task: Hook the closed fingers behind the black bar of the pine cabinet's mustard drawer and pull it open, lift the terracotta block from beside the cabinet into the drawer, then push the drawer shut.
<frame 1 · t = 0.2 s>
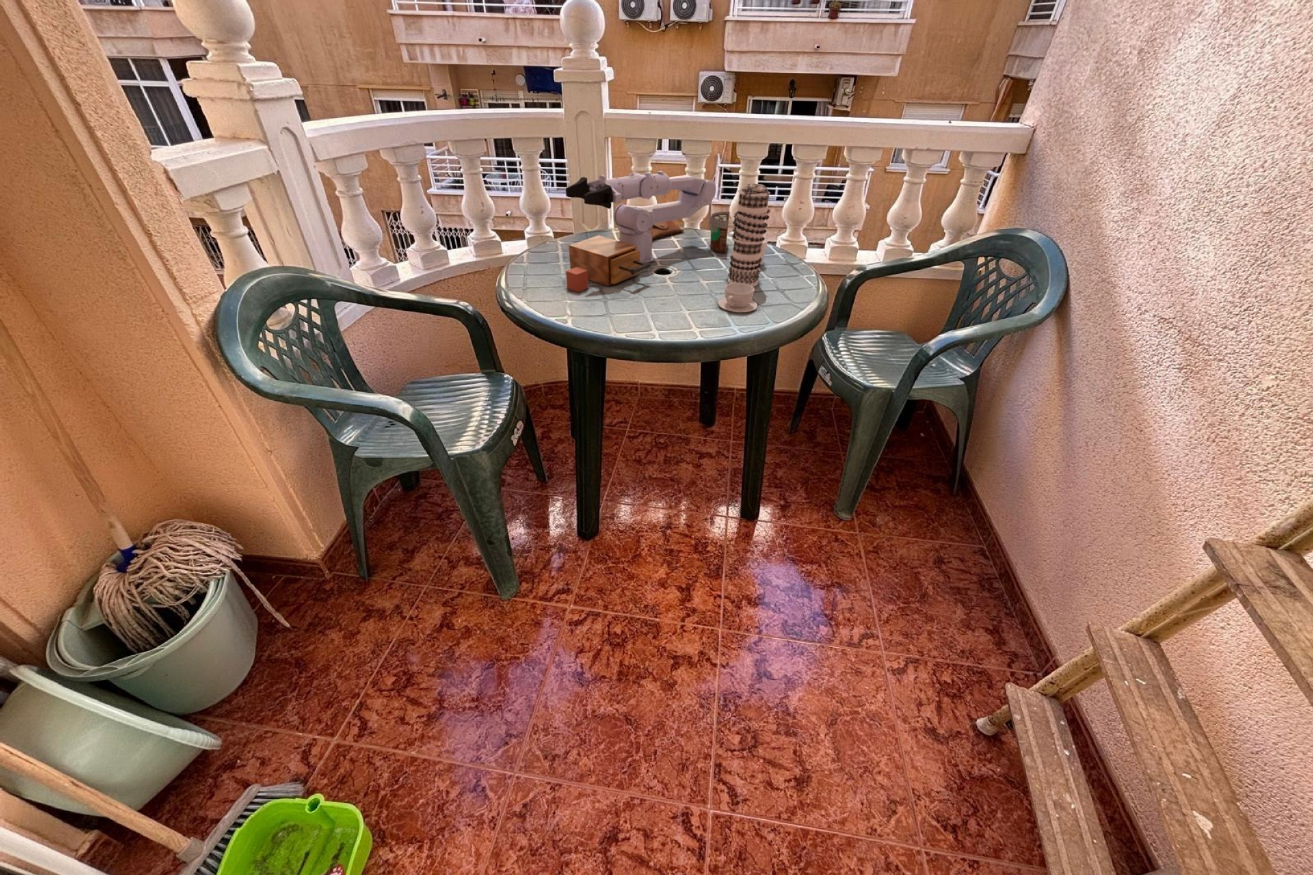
hand: (575, 196, 136), 21 cm above the table, tool horizontal, fingers open, 7 cm apart
decorative candle: (743, 282, 149), on the table
cabinet: (603, 274, 151), on the table
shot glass: (752, 264, 162), on the table
drawer: (616, 264, 147), point 4 cm above the table, slide at 0.5 cm
teacup: (737, 306, 136), on the table
block: (577, 288, 142), on the table
sunglasses case: (659, 235, 183), on the table
food container: (716, 248, 173), on the table
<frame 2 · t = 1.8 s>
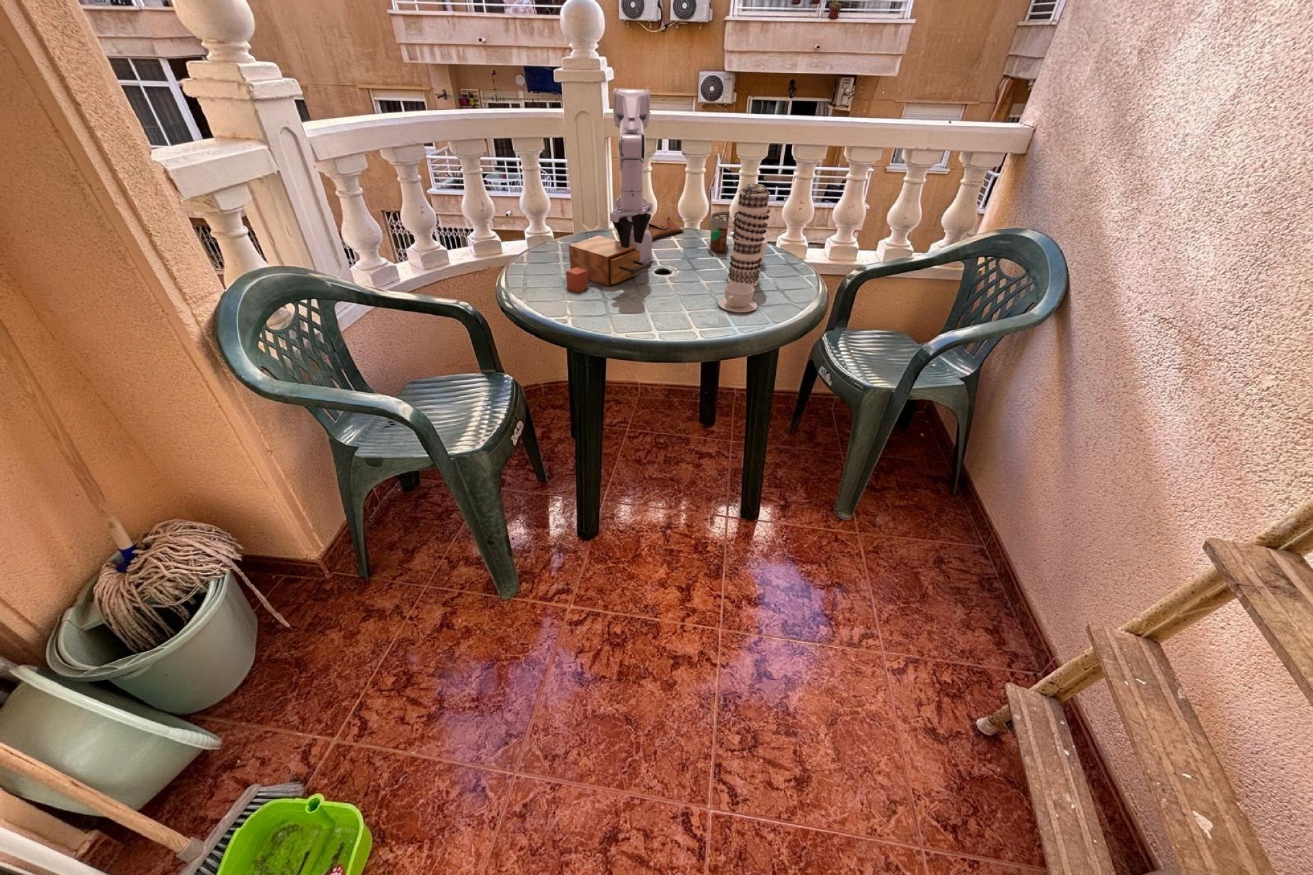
hand: (631, 245, 140), 10 cm above the table, tool pointing down, fingers open, 5 cm apart
nothing on the table moved.
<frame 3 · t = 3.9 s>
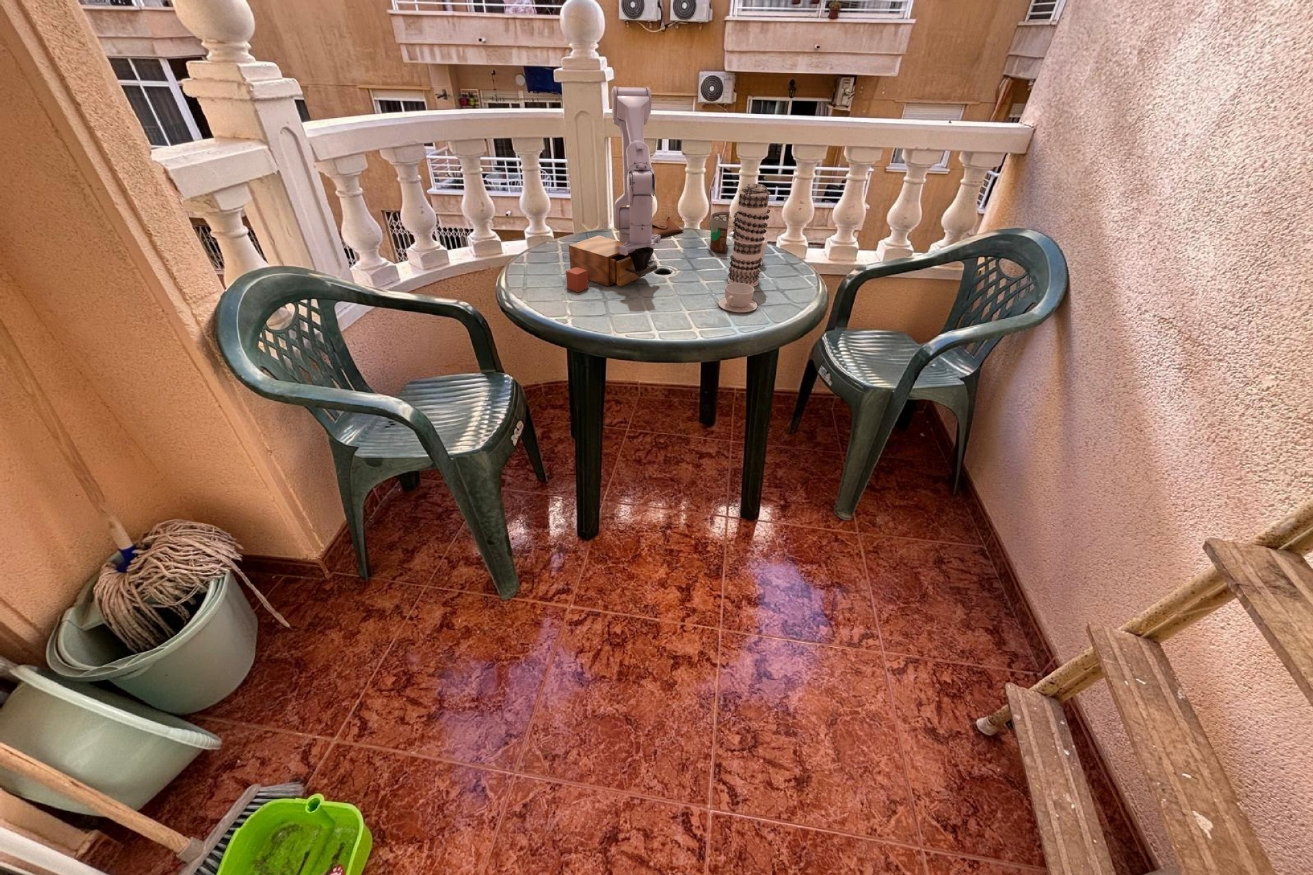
hand: (640, 275, 143), 3 cm above the table, tool pointing down, fingers closed, pressing on drawer
drawer: (622, 266, 146), point 4 cm above the table, slide at 2.7 cm, touching gripper
everything else where it was.
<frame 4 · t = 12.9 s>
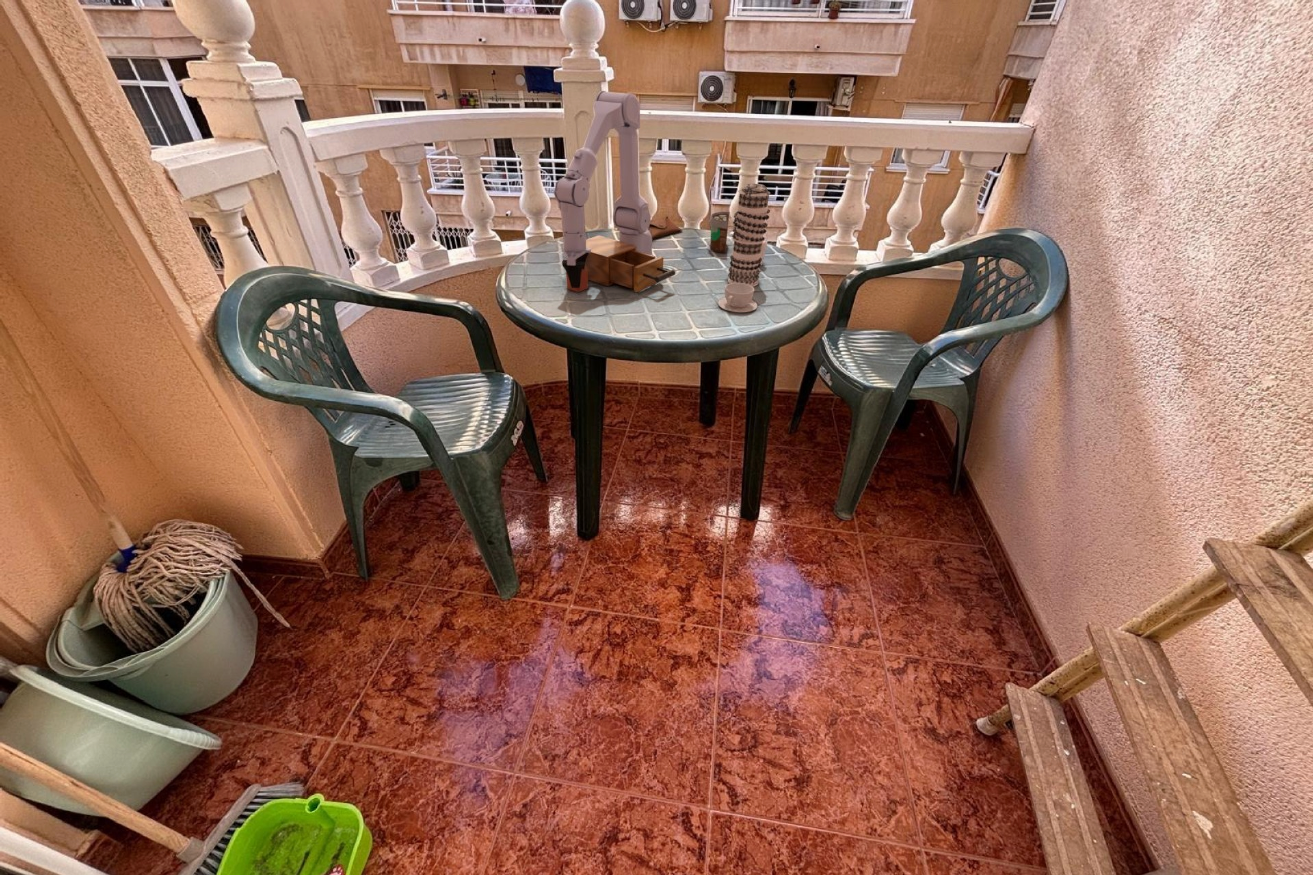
hand: (577, 283, 142), 1 cm above the table, tool pointing down, fingers closed on block, 5 cm apart
drawer: (639, 271, 143), point 4 cm above the table, slide at 8.7 cm
block: (577, 288, 142), on the table, touching gripper
everything else where it was.
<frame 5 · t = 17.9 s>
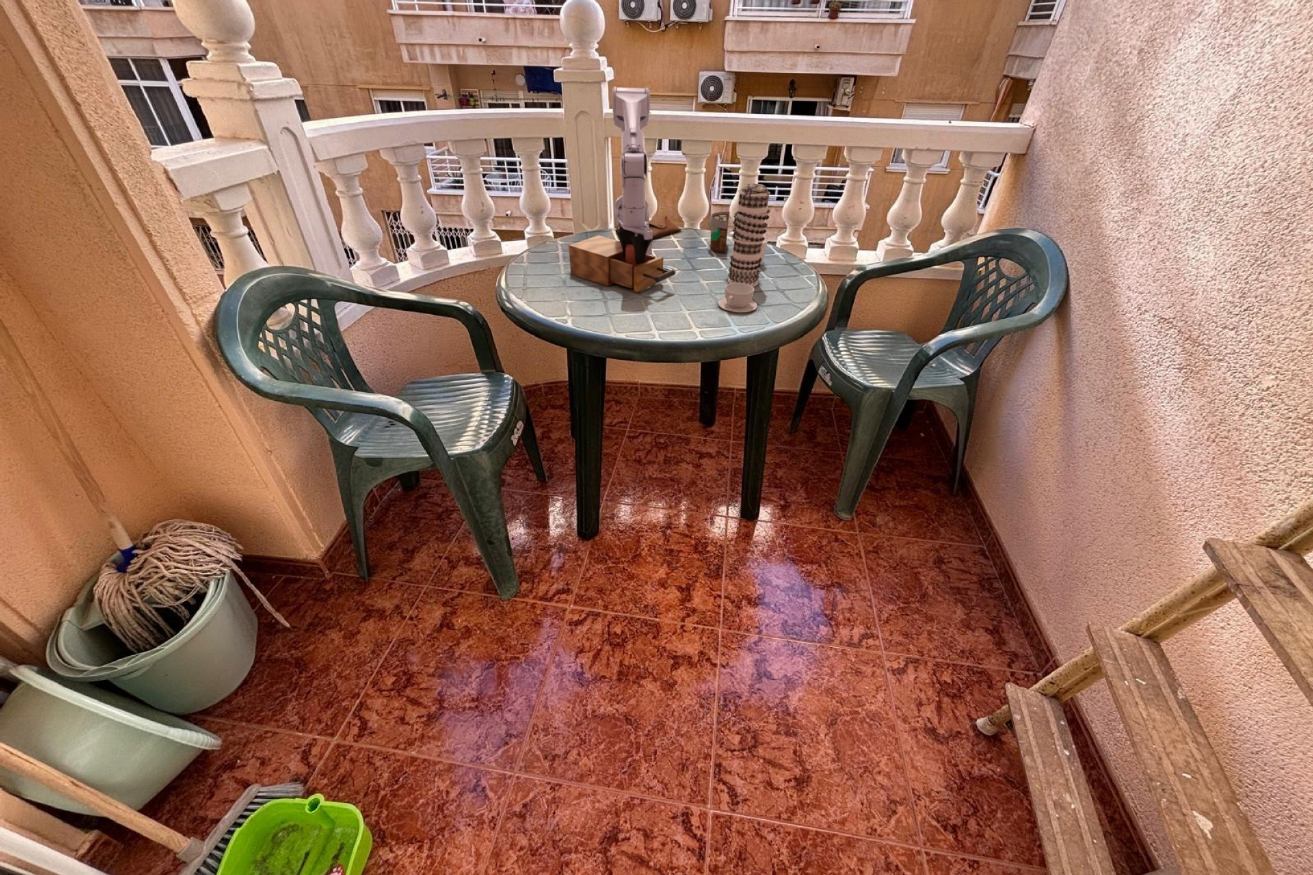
hand: (633, 259, 142), 7 cm above the table, tool pointing down, fingers closed on block, 5 cm apart
block: (633, 265, 143), point 5 cm above the table, touching gripper
everything else where it was.
when the fingers open (7 cm above the table, at t = 21.5 s): block drops 4 cm, resting on drawer.
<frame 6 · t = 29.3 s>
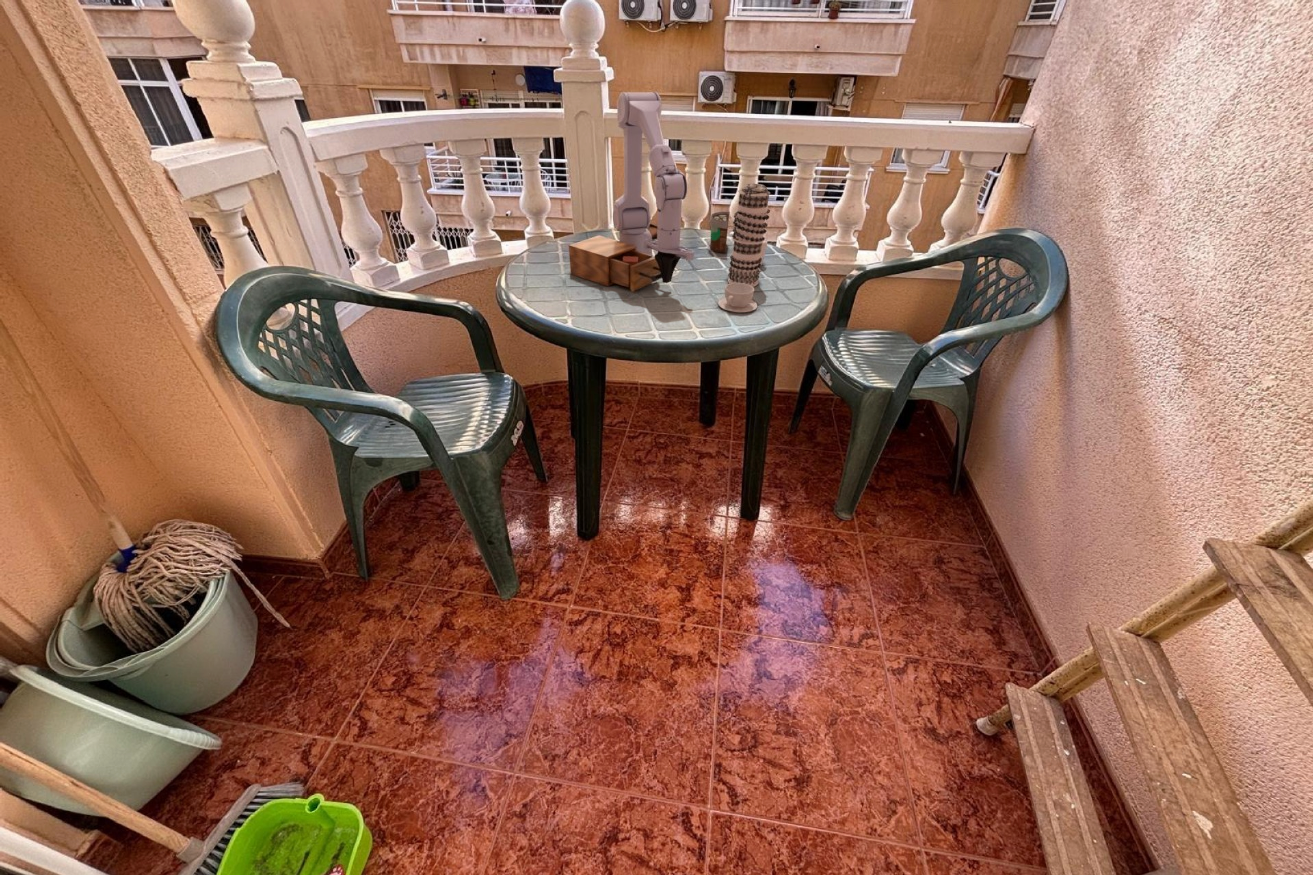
hand: (666, 281, 139), 3 cm above the table, tool pointing down, fingers closed
drawer: (635, 270, 143), point 4 cm above the table, slide at 7.5 cm, touching block, gripper
block: (630, 276, 146), point 2 cm above the table, touching drawer
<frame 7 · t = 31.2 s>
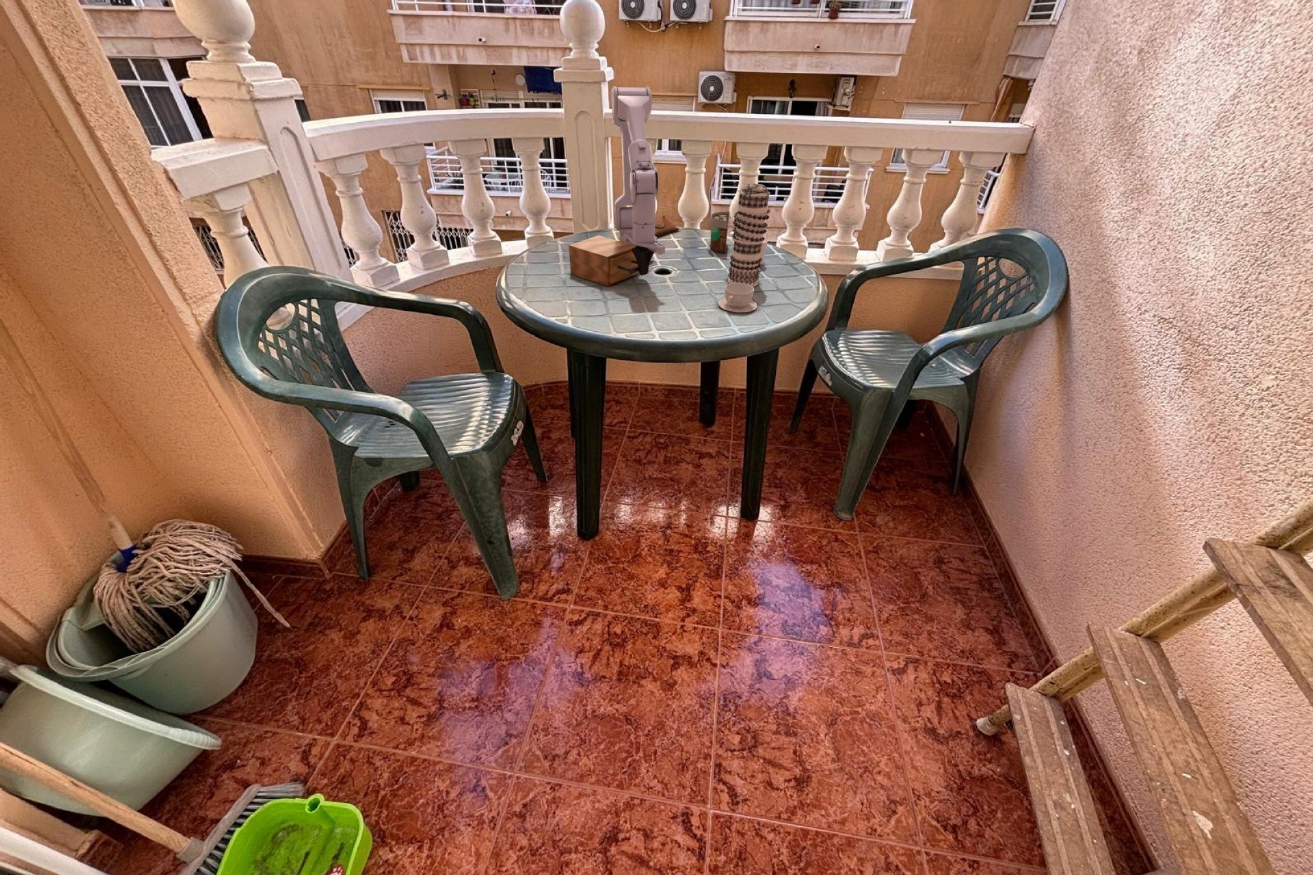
hand: (643, 274, 142), 3 cm above the table, tool pointing down, fingers closed, pressing on drawer
drawer: (614, 263, 147), point 4 cm above the table, slide at -0.1 cm, touching block, cabinet, gripper
block: (609, 269, 149), point 2 cm above the table, touching drawer
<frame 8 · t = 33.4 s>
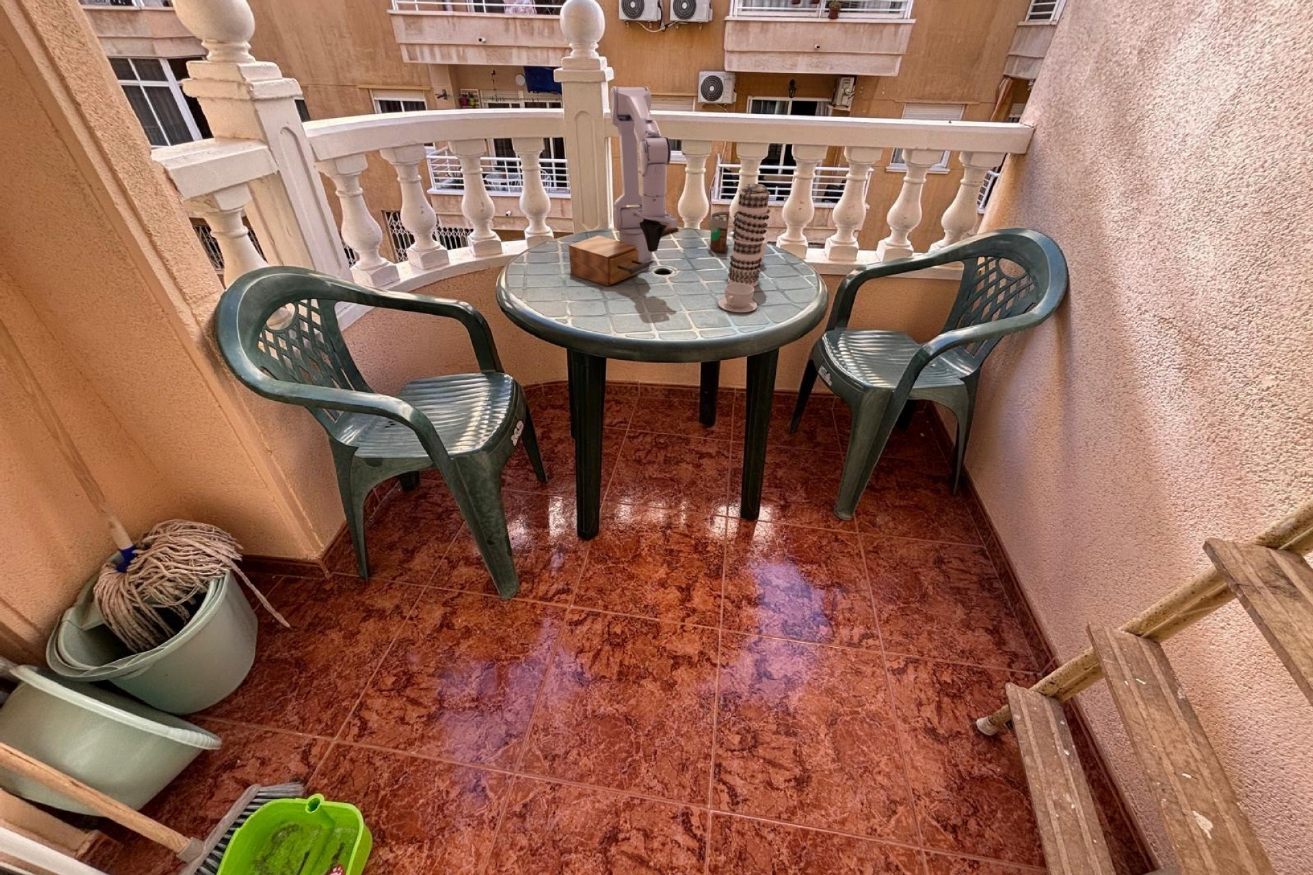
hand: (652, 250, 137), 10 cm above the table, tool pointing down, fingers closed
drawer: (615, 263, 147), point 4 cm above the table, slide at 0.0 cm, touching block, cabinet
at the end: drawer pulled out 8.7 cm at the most during the clip, back to where it started at the end; block inside the target area in the cabinet (2.5 cm from its centre), point 1.8 cm above the cabinet's base; drawer slide at 0.0 cm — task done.
